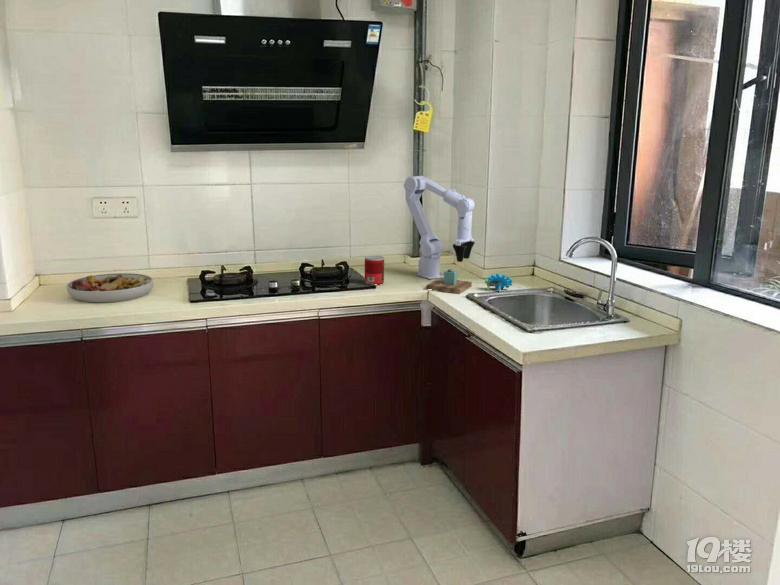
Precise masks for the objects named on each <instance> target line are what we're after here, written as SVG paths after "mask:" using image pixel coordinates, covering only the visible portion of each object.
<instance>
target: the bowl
mask: <svg viewBox="0 0 780 585" xmlns="http://www.w3.org/2000/svg"><path fill="white" fill-rule="evenodd" d="M153 287H154V278H153V277H151V276H150V275H146V274H142V273H132V272H131V273H130V272H127V273H126V272H123V273H122V272H118V273H103V274H101V273H100V274H95V275H88V276H83V277H79V278H76V279H73V280H71V281H69V282H68V283H67V284H66V291H67V293H68V296H70V297H71V298H73V299H75V300H77V301H80V302H84V303H96V304H97V303H98V304H99V303H100V304H102V303H104V304H106V303H117V302H124V301H130V300H134V299H138V298H140V297H141V298H142V297H143V296H145V295H147V294H148V293H150V292H151V291H152V289H153Z"/></svg>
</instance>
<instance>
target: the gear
mask: <svg viewBox="0 0 780 585" xmlns="http://www.w3.org/2000/svg"><path fill="white" fill-rule="evenodd" d="M487 278H488V279H487ZM487 278H486V279H484V284H485V285H486V287H487V288H486V291H487V290H489V291H490V287H494V288H495V289H497V292H498V291H500V292H501V290H502V289H501V288H504V289H505V288H506V289H509V288H510V287H512V286H513V282H514V280H513V279H512V278H511V277H510V276H507V277H506V274H505V273H504V274H501V275H500V273H496V274H491V275H490V276H488V277H487Z"/></svg>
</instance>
